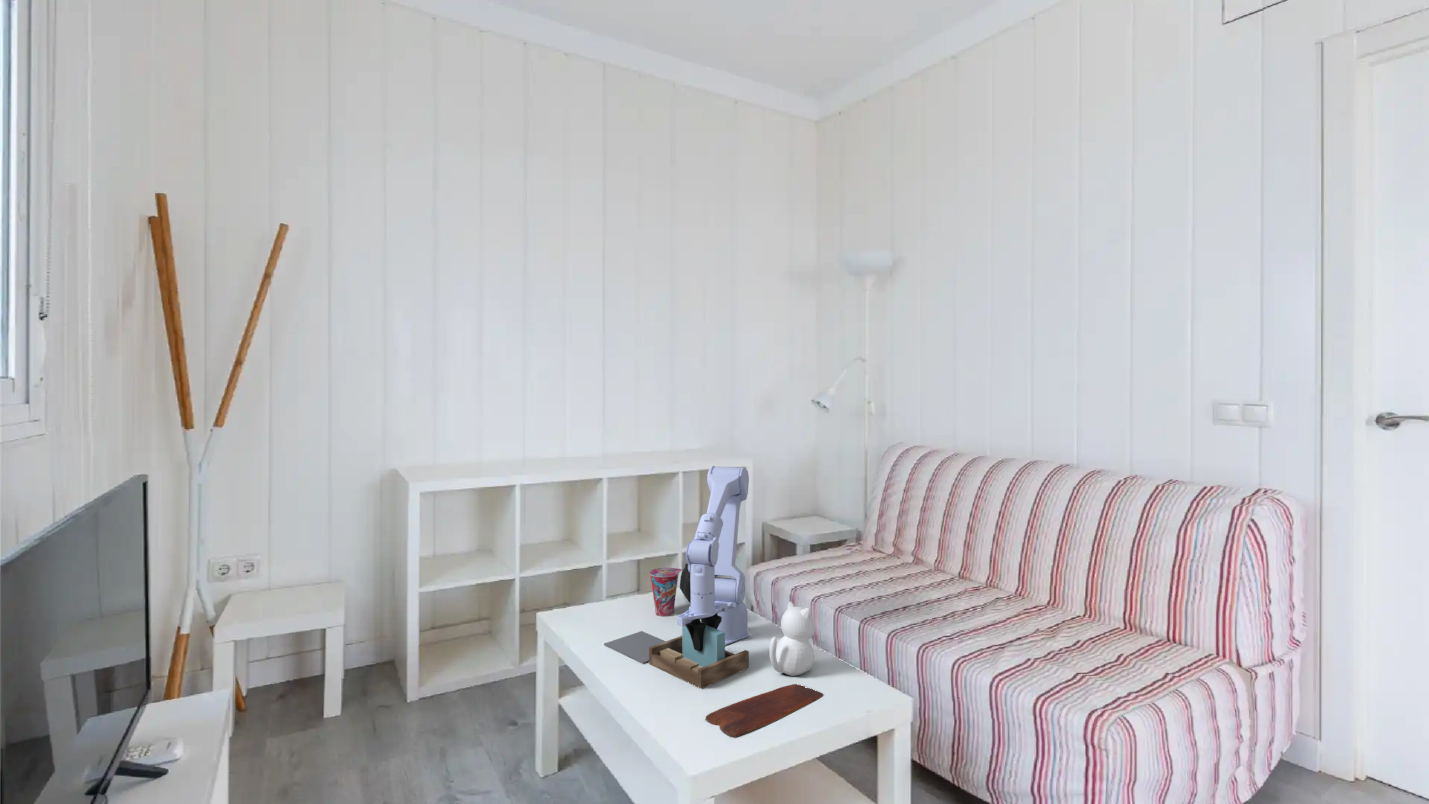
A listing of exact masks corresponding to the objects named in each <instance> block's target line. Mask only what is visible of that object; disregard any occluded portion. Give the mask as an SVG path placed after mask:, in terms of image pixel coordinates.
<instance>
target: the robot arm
mask: <svg viewBox="0 0 1429 804" xmlns="http://www.w3.org/2000/svg"><path fill="white" fill-rule="evenodd" d="M749 475H750V474H749V471H748V469H747V467H746V466H741V467H739V466H737V467H735V466H715V465H711V466H710V468H709V469H708V472H707V476H706V477H707V478H706V479H707V481H706V482H707V486H708V490H709V492H710V496H709V501H708V504H707V509H706V510H707V511H706V513H704V514H702V515H701V516H700V519H699V520H698V521H699V522H698V524H697V528H696V531H695V533H694V534H695V535H694V538H693V539H692V540H691V541H689V542H688V544H687V547H686V550H685V551H686V554H685V557H686V558H685V559H686V563H688V570H689V572H690V590H691V604H690V605H689V606H688V609H687V610H686V611H685V612H684V611H683V613H681V614H680V615H677V616H676V625H678V626H680V627H681V628H682V627H683V626H686V627H687V629H688V631H689V633H690V636H691V639H692V642H693V646H694V650H697V651H699V652H701V651H702V649H703V635H704V630H705V627H706V625H707V626H709V627H712V628H715V629H717V630H720V631H723V632H725V646H727V645H729V644H732V643H734V642H737V641H739V640H742V639H745V638H748V637H750V636H751V633H749V632H748V631H749V630H748V629H749V624H748V623H749V622H748V621H749V620H748V608H747V605H746V603H745V602H744V601H745V597H746V583H745V582H746V576H745V573H744V572H743V571H741V569H740V568H739V567H738V566H736V561H737V560H736V559H737V558H736V557H737V548H738V547H737V546H738V534H739V522H740V511H741V505H742V502H743V501H745V500H746V501H747V499H748V495H749V483H750V477H749ZM720 576H722V577H720ZM723 576H724V577H723ZM732 577H733V578H732Z"/></svg>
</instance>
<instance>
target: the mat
mask: <svg viewBox="0 0 1429 804" xmlns="http://www.w3.org/2000/svg"><path fill="white" fill-rule="evenodd" d="M666 641H667V640H663V639H662V638H659V637H657V636H654V635H652V634H650V633H647V632H645V631H643V630H641V631H637V632H635V633H632V634H629V635H626V636H623V637H619V638H616V639H613V640H611V641H608V642H605V643H604V644H603V646H605V647H607V648H609V649H611V650H613V651H615V652H617V653H618V654H619V653H620V654H621V655H624V656H626V657H628V658H630V659H632V660H634V661H636V662H638V663H640V664H642V665H645V664H648V663H649V647H652V646H654V645H657V644H660V643H663V642H666Z"/></svg>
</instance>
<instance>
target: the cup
mask: <svg viewBox="0 0 1429 804" xmlns="http://www.w3.org/2000/svg"><path fill="white" fill-rule="evenodd" d="M682 571H683V569H681V568H675V567H661V568H660V567H659V568H654V569H652V570H650V571H649V575H650V581H651V589H652V595H653V596H652V597H653V601H654V602H653V603H654V604H653V605H654V610H655V615H656V616H658V617H671V616H672V615H674V613H675V605H676V594H677V587H678V580H679V575H680V573H681V572H682Z"/></svg>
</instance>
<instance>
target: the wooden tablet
mask: <svg viewBox="0 0 1429 804" xmlns="http://www.w3.org/2000/svg"><path fill="white" fill-rule="evenodd" d="M797 684H798V683H794V684H793V683H792V684H789V685H785V686H781V687H779V688H778V687H777V688H776V689H773V690H770V691H767V692H764V693H760V694H757V695H754V696H752V697H749V698H745V699H743V700H742V699H741V700H740V701H737V702H733V703H731V704H729V705H725V706H724V707H721V708H719V709H717V710H714V711H713V712H710V713H708V714H707V715H706V716H705V719H704V721H705V722H707V723H709V724H710V725H712V726H718V727H719V730H720V731H721V732H722V733H723V734H725V735H726V736H727V737H728V738H729V737H730V738H736V737H737V738H738V737H740V736H743V735H745V734H748V733H751V732H753V731H755V730H758V729H760V728H763V727H765V726H767V725H769V724H771V723H774V722H776V721H778V720H781V719H782V718H784V717H786V716H788V715H790V714H792V713H794V712H796V711H799V710H800V709H803V708H805V707H807V706H809V705H810V704H812V703H813V702H815V701H818V700H819V699H820V698H822V697H823V695H824V693H822V692H820V691H819V690H816V689H814V690H813V688H811V687H807V688H805V687H806V686H805V685H803V686H801V684H798V685H797ZM810 688H811V689H810ZM815 690H816V691H815Z"/></svg>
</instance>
